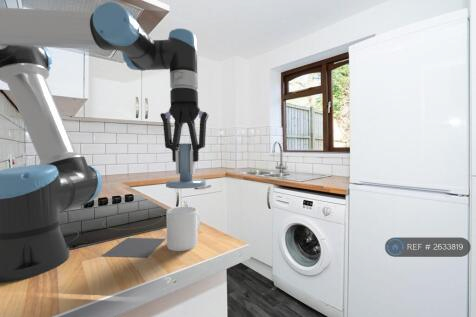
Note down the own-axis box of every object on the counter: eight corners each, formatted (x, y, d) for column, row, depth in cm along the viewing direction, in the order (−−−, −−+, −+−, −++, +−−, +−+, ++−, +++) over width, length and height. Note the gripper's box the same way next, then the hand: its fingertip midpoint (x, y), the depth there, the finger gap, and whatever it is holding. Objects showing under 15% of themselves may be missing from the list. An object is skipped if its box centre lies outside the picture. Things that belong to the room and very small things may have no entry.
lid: (159, 188, 60) (158, 143, 60) (174, 182, 71) (173, 144, 71) (200, 188, 59) (199, 142, 59) (209, 182, 70) (208, 143, 70)
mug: (189, 234, 73) (189, 202, 73) (210, 239, 69) (210, 205, 69) (160, 249, 63) (159, 212, 62) (183, 255, 59) (183, 216, 58)
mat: (100, 258, 57) (100, 256, 57) (127, 239, 69) (127, 237, 69) (146, 260, 56) (146, 257, 56) (166, 240, 68) (165, 238, 68)
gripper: (149, 87, 61) (151, 175, 62) (210, 85, 60) (211, 174, 61) (161, 94, 68) (163, 172, 69) (215, 92, 67) (216, 172, 68)
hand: (185, 173), depth 65 cm, fingers closed on lid, 3 cm apart
